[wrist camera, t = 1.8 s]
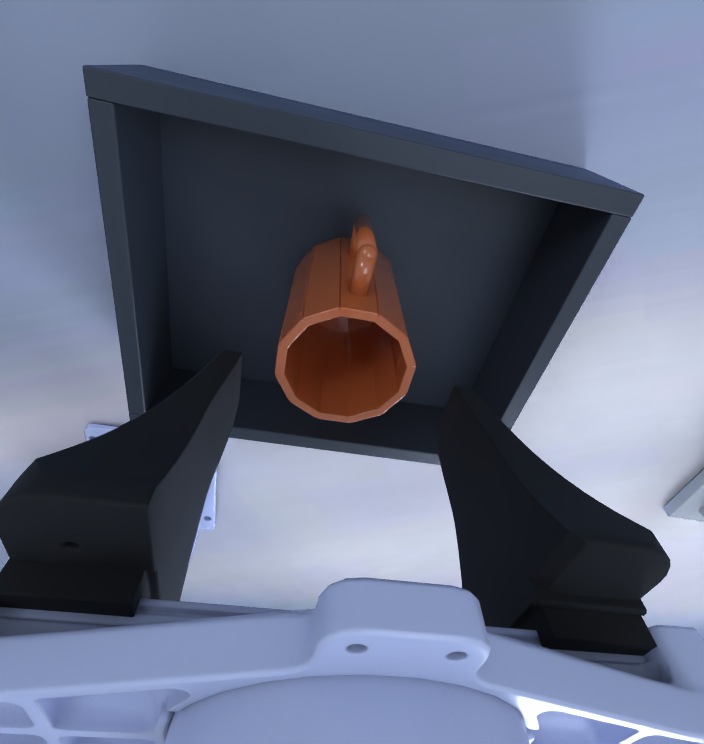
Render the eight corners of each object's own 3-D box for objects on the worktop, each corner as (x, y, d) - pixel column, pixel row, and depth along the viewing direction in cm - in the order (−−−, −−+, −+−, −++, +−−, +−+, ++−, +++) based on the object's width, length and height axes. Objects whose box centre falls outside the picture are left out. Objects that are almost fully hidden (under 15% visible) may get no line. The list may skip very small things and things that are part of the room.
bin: (467, 416, 27) (487, 471, 23) (161, 371, 25) (129, 425, 21) (586, 169, 19) (645, 195, 15) (140, 64, 16) (81, 64, 13)
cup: (381, 338, 23) (394, 429, 17) (288, 323, 22) (269, 412, 17) (417, 211, 19) (449, 275, 13) (306, 188, 18) (289, 244, 13)
